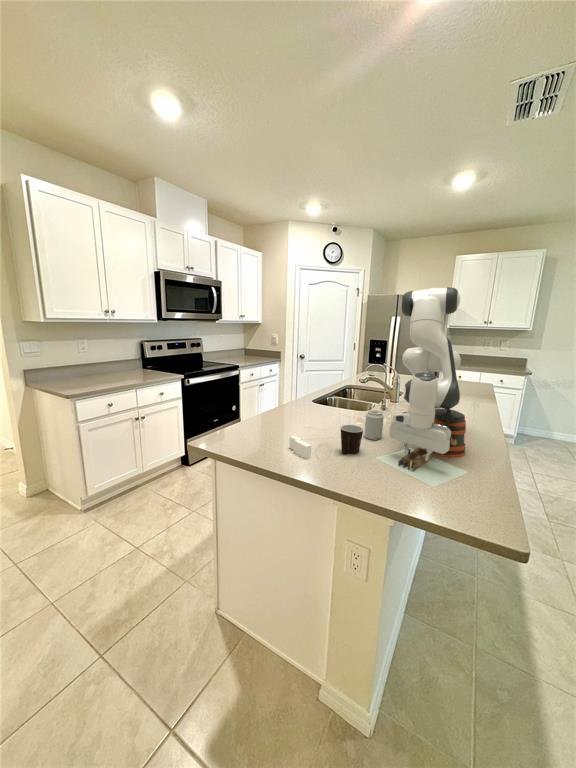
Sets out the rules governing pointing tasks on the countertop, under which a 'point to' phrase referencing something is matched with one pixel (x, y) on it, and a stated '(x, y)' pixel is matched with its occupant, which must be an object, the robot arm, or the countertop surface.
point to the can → (374, 425)
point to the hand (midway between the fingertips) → (415, 456)
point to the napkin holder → (300, 447)
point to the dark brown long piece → (414, 459)
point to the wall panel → (425, 469)
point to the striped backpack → (452, 431)
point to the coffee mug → (351, 439)
